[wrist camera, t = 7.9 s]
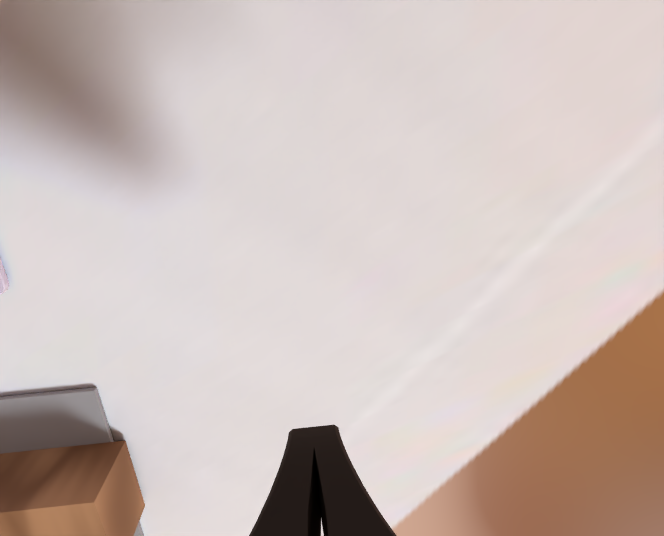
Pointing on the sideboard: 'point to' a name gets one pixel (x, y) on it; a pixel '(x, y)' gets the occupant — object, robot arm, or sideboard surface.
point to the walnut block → (70, 492)
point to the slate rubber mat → (53, 422)
